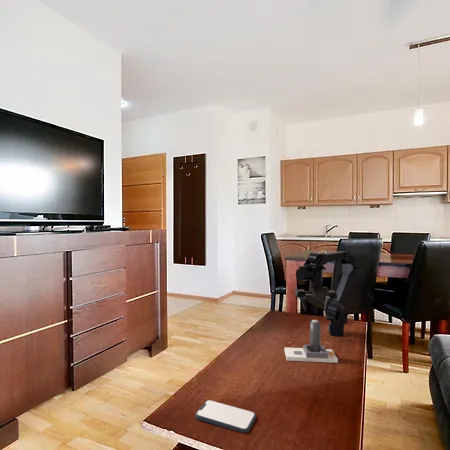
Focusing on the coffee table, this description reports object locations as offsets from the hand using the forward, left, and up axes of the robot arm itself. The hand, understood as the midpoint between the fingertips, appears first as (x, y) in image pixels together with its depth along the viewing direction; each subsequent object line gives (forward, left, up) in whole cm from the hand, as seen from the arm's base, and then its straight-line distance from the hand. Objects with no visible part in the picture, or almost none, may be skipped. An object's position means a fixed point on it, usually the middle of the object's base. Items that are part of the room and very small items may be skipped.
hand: (315, 311), depth 153 cm
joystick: (+4, +21, -12) cm, 24 cm away
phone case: (+37, +65, -14) cm, 76 cm away
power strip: (+6, +21, -13) cm, 25 cm away
